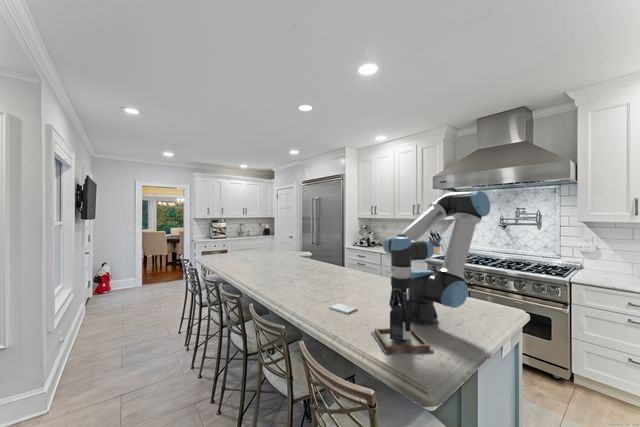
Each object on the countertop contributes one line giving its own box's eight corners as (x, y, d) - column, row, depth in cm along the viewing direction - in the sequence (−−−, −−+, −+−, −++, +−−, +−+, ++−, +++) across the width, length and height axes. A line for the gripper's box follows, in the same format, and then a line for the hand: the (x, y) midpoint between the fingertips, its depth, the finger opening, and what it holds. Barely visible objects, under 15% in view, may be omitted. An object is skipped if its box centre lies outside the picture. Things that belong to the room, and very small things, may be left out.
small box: (394, 328, 115) (394, 303, 115) (410, 331, 112) (410, 305, 112) (388, 338, 106) (389, 311, 106) (406, 342, 103) (406, 314, 103)
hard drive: (357, 308, 144) (339, 302, 152) (348, 312, 138) (329, 306, 146) (357, 311, 144) (339, 305, 152) (348, 315, 138) (329, 309, 146)
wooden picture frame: (412, 331, 119) (412, 326, 119) (433, 352, 101) (433, 346, 101) (371, 332, 117) (371, 327, 117) (385, 354, 99) (385, 348, 99)
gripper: (382, 270, 120) (381, 320, 120) (403, 284, 96) (402, 346, 97) (398, 270, 121) (398, 319, 121) (424, 284, 97) (423, 346, 97)
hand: (400, 331), depth 109 cm, fingers closed on small box, 12 cm apart
